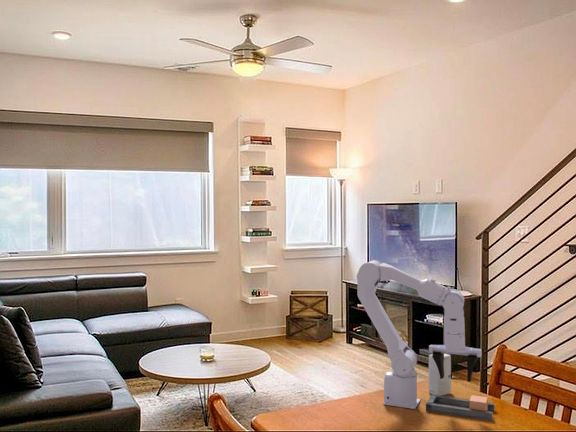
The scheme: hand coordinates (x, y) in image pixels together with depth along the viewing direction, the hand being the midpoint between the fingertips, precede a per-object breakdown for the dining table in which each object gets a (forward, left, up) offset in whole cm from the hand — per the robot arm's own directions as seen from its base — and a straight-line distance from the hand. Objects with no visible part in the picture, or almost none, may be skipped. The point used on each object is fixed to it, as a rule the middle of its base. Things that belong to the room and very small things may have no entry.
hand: (455, 379), depth 158 cm
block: (+6, 0, -9) cm, 11 cm away
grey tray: (+1, 0, -9) cm, 9 cm away
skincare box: (-7, +13, -9) cm, 17 cm away
